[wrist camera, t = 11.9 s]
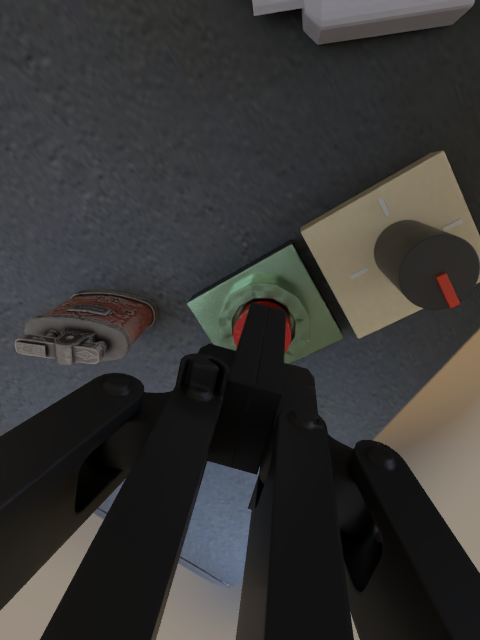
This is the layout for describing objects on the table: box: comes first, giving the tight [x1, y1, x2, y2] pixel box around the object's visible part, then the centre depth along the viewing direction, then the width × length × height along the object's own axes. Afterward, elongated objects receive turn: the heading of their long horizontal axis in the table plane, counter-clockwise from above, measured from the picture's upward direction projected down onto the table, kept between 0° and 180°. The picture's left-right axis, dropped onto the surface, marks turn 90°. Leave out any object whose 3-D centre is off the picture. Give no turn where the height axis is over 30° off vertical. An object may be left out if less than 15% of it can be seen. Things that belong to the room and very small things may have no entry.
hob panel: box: [300, 151, 480, 339], centre depth 31 cm, size 11×10×3 cm
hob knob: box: [374, 220, 480, 310], centre depth 26 cm, size 4×4×8 cm
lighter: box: [15, 290, 158, 366], centre depth 32 cm, size 8×3×10 cm, turn 84°
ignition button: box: [233, 301, 291, 352], centre depth 31 cm, size 4×4×2 cm
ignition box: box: [187, 240, 344, 364], centre depth 34 cm, size 10×9×4 cm
